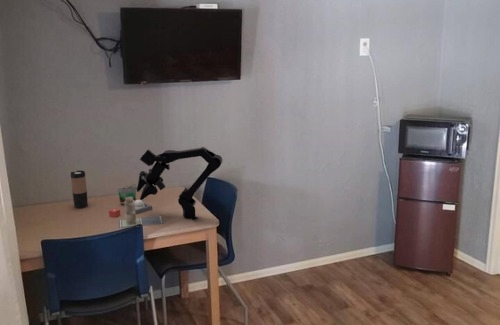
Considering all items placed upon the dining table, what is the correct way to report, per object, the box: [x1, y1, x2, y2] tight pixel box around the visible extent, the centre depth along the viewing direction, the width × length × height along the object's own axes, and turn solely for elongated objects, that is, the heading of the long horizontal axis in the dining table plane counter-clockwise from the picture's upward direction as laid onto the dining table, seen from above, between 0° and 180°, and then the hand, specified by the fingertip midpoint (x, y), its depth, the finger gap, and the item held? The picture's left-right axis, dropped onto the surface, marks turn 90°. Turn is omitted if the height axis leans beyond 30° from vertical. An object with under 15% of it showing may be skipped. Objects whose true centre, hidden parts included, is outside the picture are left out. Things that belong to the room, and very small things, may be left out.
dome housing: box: [135, 202, 153, 215], centre depth 257 cm, size 10×10×3 cm
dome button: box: [134, 199, 145, 209], centre depth 257 cm, size 6×6×6 cm
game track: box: [118, 215, 165, 229], centre depth 240 cm, size 22×12×1 cm, turn 106°
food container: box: [117, 183, 138, 206], centre depth 269 cm, size 12×6×10 cm, turn 143°
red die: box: [108, 208, 121, 218], centre depth 248 cm, size 4×4×4 cm
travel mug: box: [70, 170, 89, 209], centre depth 264 cm, size 8×8×20 cm
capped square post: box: [124, 197, 137, 224], centre depth 237 cm, size 4×4×13 cm
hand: (139, 195), depth 243 cm, fingers open, 9 cm apart
